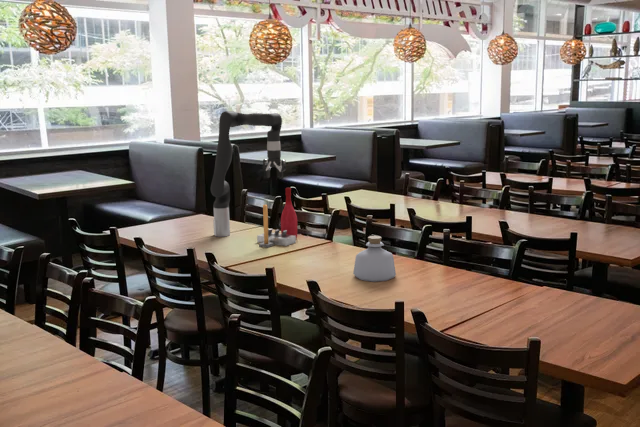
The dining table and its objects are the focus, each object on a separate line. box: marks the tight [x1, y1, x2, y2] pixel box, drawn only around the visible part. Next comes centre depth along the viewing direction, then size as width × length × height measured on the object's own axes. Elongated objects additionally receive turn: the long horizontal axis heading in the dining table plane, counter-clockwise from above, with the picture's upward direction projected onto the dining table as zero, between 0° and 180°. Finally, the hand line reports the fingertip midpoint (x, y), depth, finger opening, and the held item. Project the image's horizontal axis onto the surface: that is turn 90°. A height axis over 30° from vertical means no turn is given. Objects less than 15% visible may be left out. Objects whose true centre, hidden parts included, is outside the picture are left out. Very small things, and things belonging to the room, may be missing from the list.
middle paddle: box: [274, 228, 281, 235], centre depth 380 cm, size 1×3×3 cm, turn 149°
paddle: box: [268, 228, 274, 235], centre depth 382 cm, size 1×3×3 cm, turn 150°
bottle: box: [353, 235, 397, 283], centre depth 309 cm, size 20×20×19 cm
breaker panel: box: [256, 232, 297, 247], centre depth 381 cm, size 20×10×4 cm, turn 59°
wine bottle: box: [280, 187, 298, 238], centre depth 389 cm, size 10×10×30 cm
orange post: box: [258, 204, 275, 249], centre depth 370 cm, size 6×6×24 cm
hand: (274, 177), depth 374 cm, fingers open, 8 cm apart
